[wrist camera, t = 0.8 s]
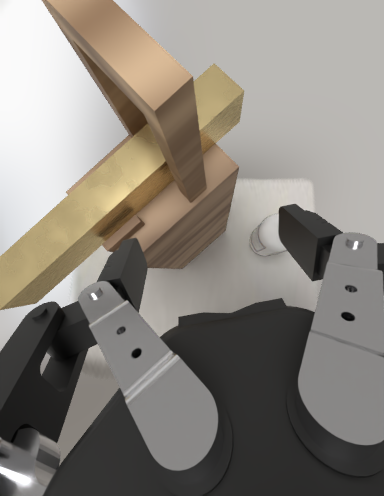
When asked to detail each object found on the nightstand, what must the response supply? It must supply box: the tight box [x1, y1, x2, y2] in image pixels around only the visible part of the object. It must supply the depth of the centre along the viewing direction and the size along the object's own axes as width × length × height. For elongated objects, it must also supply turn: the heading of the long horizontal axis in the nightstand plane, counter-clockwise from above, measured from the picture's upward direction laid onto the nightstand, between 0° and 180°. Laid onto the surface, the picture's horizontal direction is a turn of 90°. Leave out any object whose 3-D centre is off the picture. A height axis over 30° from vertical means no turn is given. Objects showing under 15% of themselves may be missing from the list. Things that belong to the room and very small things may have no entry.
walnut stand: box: [42, 0, 239, 269], centre depth 30 cm, size 10×14×44 cm
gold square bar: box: [0, 64, 244, 310], centre depth 19 cm, size 4×26×4 cm, turn 131°
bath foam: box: [250, 213, 287, 256], centre depth 40 cm, size 7×7×20 cm
